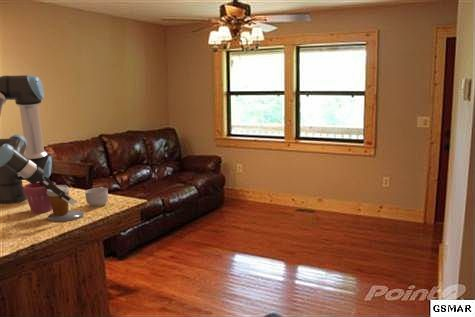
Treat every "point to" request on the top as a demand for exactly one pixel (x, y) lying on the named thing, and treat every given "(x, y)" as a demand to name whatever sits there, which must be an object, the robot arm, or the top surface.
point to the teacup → (97, 196)
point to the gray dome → (66, 216)
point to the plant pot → (37, 197)
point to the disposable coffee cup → (58, 201)
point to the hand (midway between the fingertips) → (70, 200)
